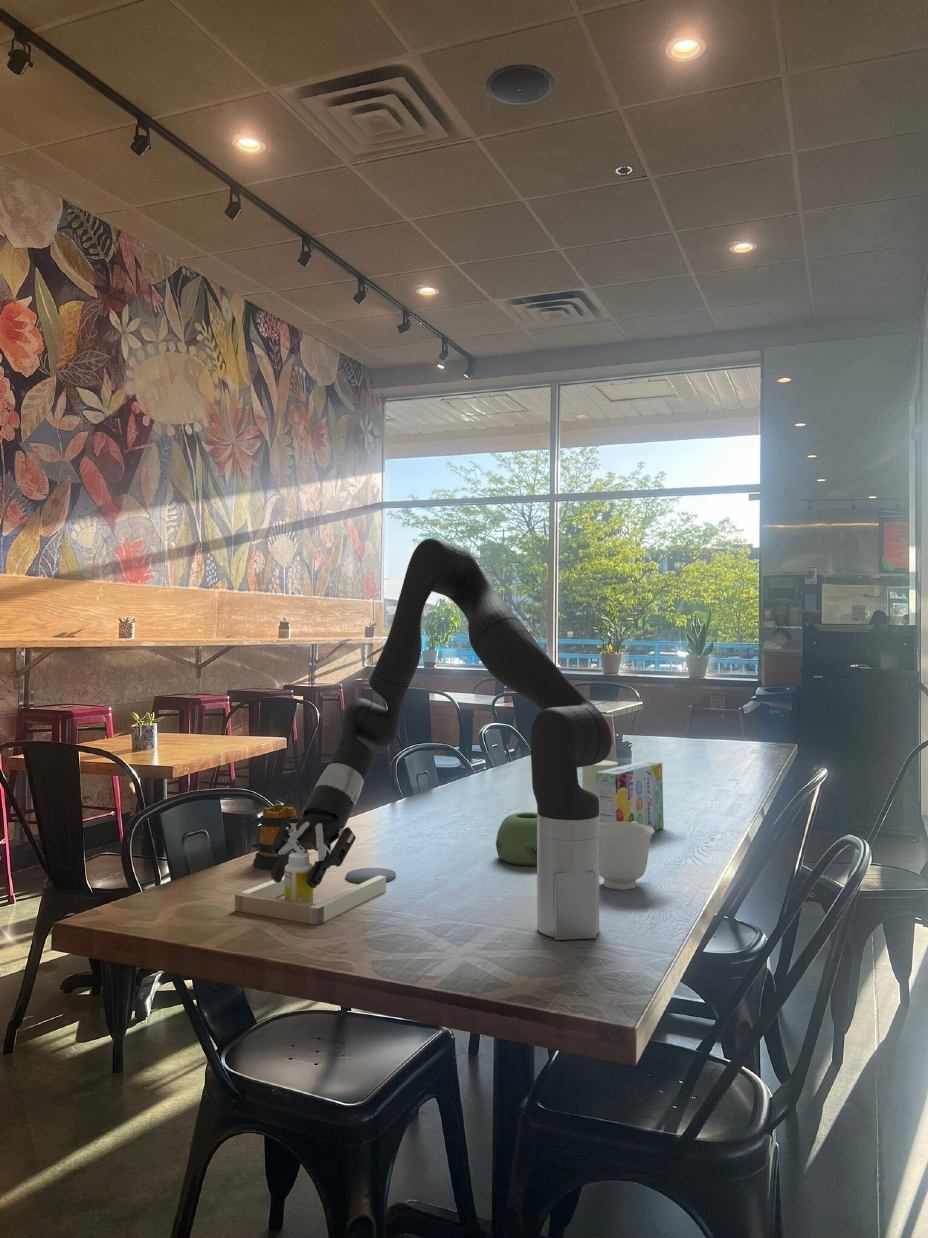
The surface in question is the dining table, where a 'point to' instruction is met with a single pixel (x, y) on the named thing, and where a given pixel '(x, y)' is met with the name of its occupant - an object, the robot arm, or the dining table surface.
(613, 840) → the teacup
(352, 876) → the coaster
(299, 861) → the supplement bottle
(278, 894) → the beige frame
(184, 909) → the dining table surface
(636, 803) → the snack box
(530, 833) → the mug
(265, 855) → the mug
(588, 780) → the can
